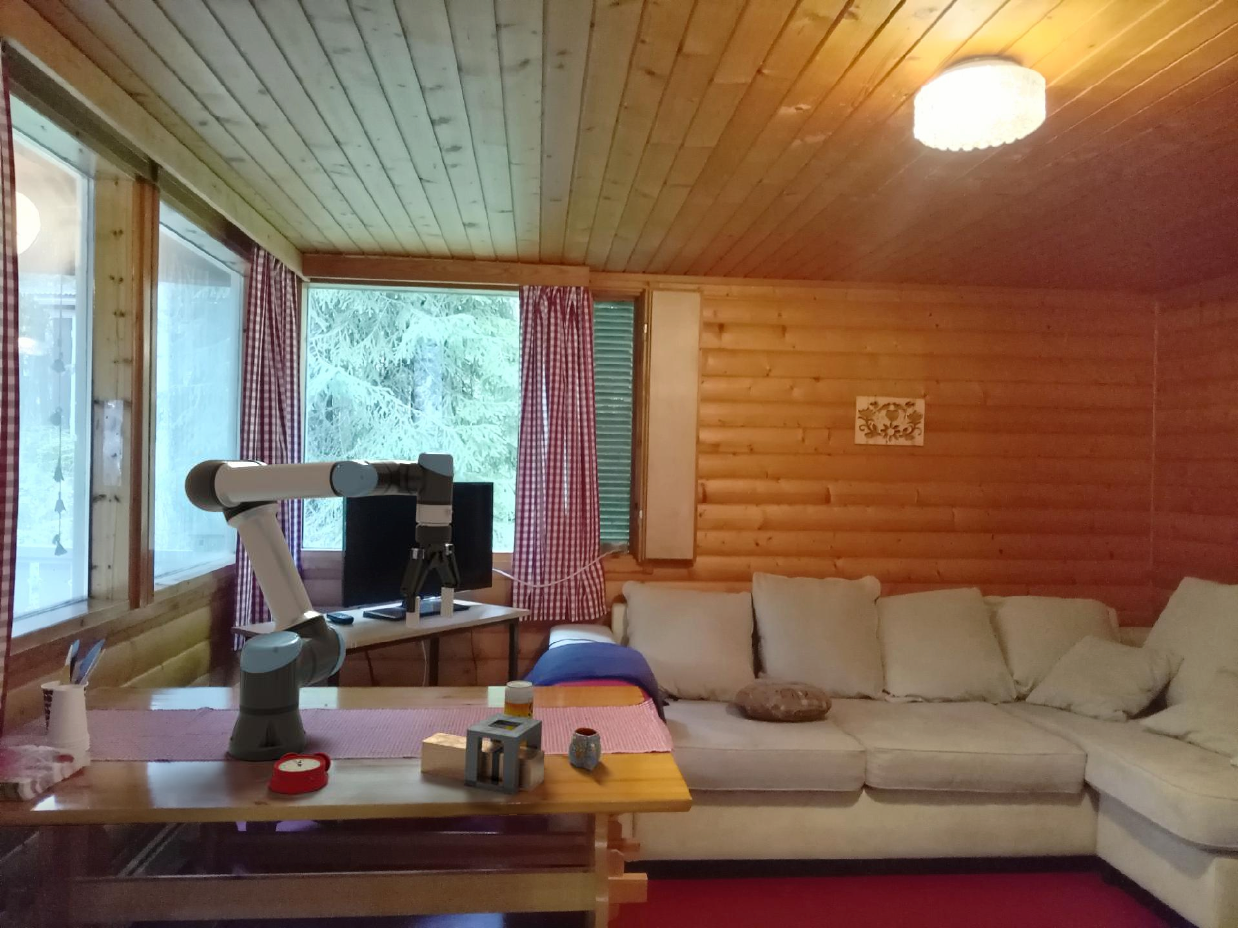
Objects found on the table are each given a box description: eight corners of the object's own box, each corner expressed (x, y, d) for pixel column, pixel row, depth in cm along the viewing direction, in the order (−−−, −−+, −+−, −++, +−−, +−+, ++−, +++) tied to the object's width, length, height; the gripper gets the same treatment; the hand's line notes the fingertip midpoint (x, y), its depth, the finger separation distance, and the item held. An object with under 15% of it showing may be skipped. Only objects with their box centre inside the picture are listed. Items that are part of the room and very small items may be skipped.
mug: (565, 757, 181) (566, 726, 181) (597, 755, 182) (598, 724, 182) (574, 778, 169) (575, 745, 169) (608, 776, 171) (609, 743, 170)
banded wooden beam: (420, 771, 169) (421, 740, 169) (437, 761, 175) (438, 731, 175) (530, 791, 161) (531, 759, 161) (543, 780, 167) (544, 749, 167)
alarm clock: (262, 778, 154) (281, 733, 168) (262, 808, 155) (281, 761, 170) (322, 777, 155) (336, 732, 170) (322, 807, 157) (336, 760, 171)
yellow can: (526, 760, 178) (529, 688, 178) (498, 757, 179) (501, 686, 179) (534, 750, 184) (537, 681, 184) (507, 747, 185) (510, 678, 185)
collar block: (464, 785, 163) (466, 729, 163) (493, 765, 174) (495, 712, 174) (513, 794, 159) (516, 737, 159) (540, 773, 170) (542, 720, 170)
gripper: (416, 529, 171) (412, 634, 171) (477, 521, 194) (474, 614, 195) (384, 526, 173) (380, 630, 174) (449, 519, 197) (445, 611, 197)
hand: (430, 622), depth 184 cm, fingers open, 13 cm apart
